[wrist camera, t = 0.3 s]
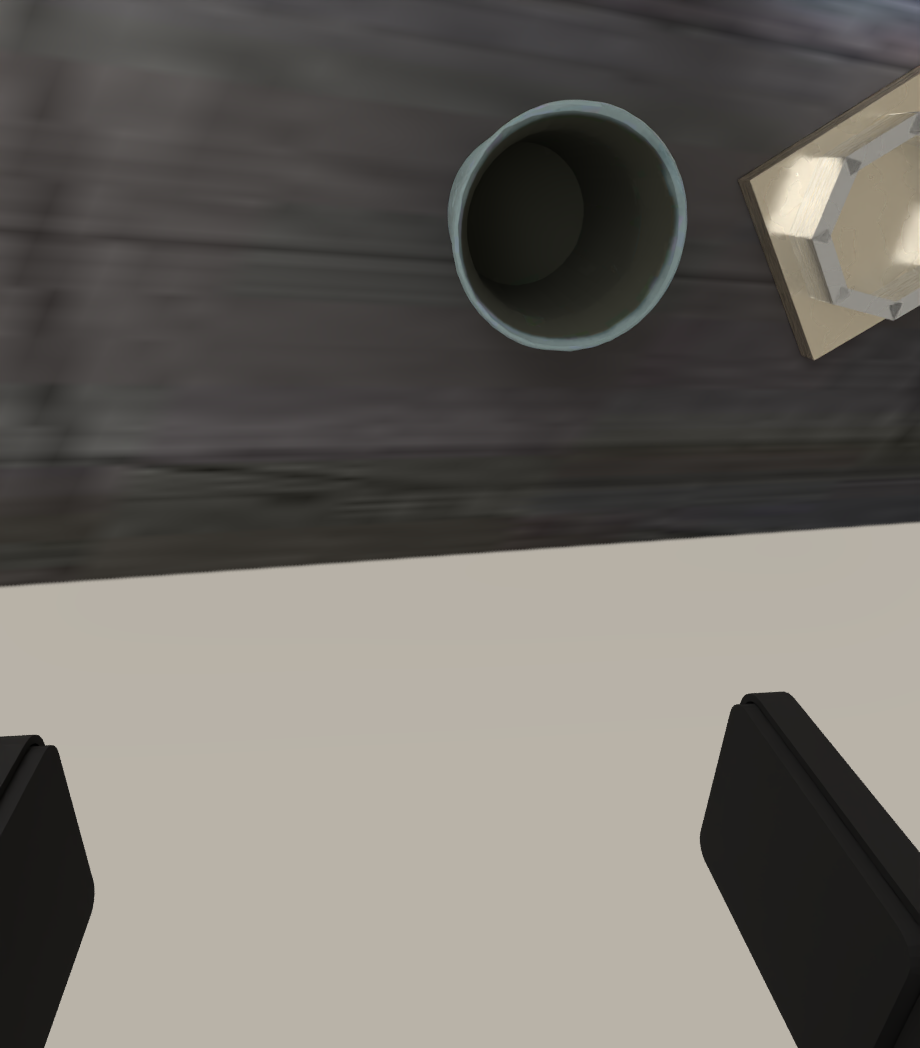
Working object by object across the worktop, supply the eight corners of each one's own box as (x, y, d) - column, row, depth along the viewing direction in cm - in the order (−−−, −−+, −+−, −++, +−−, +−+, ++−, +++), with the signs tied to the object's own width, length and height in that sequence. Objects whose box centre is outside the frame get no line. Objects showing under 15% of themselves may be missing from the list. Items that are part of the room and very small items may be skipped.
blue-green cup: (636, 227, 43) (729, 249, 32) (503, 343, 45) (548, 399, 34) (533, 70, 39) (600, 35, 28) (391, 204, 41) (403, 220, 30)
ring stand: (737, 180, 43) (772, 181, 39) (931, 57, 41) (986, 47, 37) (801, 354, 48) (837, 370, 44) (975, 252, 46) (1027, 259, 43)
